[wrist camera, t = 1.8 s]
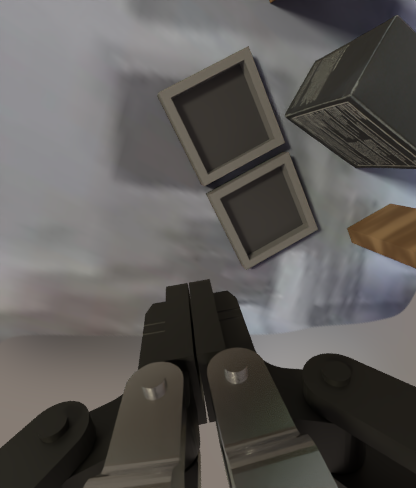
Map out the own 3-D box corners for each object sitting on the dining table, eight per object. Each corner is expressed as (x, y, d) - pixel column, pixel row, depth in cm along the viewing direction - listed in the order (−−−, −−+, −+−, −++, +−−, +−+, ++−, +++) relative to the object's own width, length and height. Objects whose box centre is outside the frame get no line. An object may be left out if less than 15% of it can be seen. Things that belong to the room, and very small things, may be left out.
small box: (389, 115, 34) (493, 99, 24) (355, 169, 34) (443, 175, 25) (316, 55, 30) (402, 7, 20) (282, 117, 31) (348, 98, 21)
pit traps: (157, 96, 28) (158, 92, 27) (242, 51, 29) (248, 46, 27) (241, 265, 35) (246, 270, 33) (310, 226, 35) (317, 229, 34)
